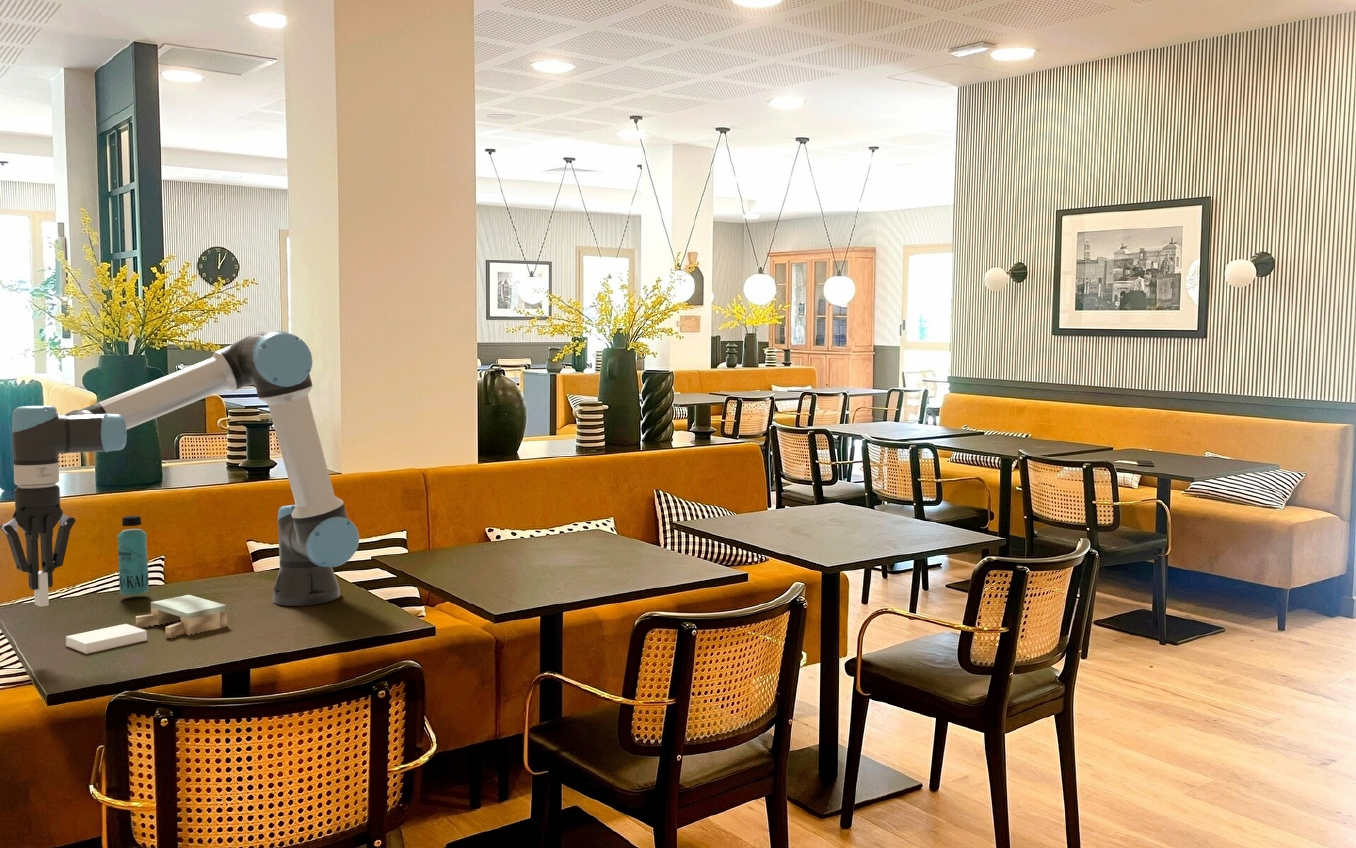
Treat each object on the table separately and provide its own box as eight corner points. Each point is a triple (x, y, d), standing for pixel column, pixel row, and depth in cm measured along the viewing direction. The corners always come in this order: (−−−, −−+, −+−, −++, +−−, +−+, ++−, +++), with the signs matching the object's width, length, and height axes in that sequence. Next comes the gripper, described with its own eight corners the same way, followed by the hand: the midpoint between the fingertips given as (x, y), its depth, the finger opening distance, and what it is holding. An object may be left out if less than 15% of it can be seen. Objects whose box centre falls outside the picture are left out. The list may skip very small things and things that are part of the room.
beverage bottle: (126, 595, 259) (122, 514, 258) (154, 594, 260) (150, 513, 258) (114, 601, 253) (110, 518, 251) (143, 601, 253) (139, 518, 252)
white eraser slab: (86, 653, 211) (85, 644, 210) (66, 646, 216) (65, 636, 216) (147, 640, 220) (146, 630, 220) (126, 633, 226) (126, 623, 225)
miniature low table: (169, 639, 220) (168, 617, 220) (133, 627, 230) (132, 605, 230) (227, 626, 230) (226, 605, 230) (189, 615, 240) (188, 594, 240)
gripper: (7, 490, 199) (12, 614, 201) (81, 483, 209) (85, 601, 211) (-9, 487, 203) (-4, 608, 205) (64, 480, 214) (68, 596, 215)
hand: (41, 604), depth 208 cm, fingers closed
